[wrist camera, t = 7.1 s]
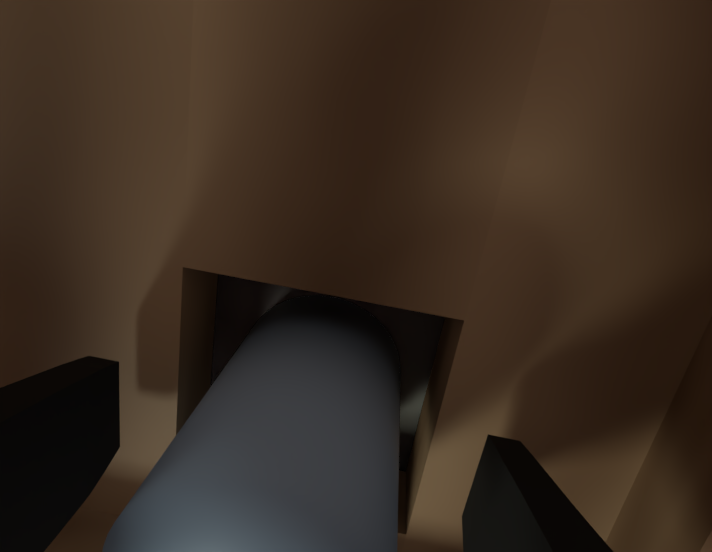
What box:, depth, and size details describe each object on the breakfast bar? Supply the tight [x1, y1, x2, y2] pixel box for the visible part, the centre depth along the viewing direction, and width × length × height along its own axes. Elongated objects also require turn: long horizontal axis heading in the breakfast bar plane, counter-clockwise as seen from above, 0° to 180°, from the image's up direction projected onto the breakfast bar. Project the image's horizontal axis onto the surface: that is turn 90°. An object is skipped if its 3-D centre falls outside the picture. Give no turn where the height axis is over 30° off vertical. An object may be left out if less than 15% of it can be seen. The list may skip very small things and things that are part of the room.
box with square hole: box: [0, 0, 712, 552], centre depth 9 cm, size 18×16×4 cm
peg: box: [102, 295, 401, 552], centre depth 9 cm, size 4×4×6 cm
